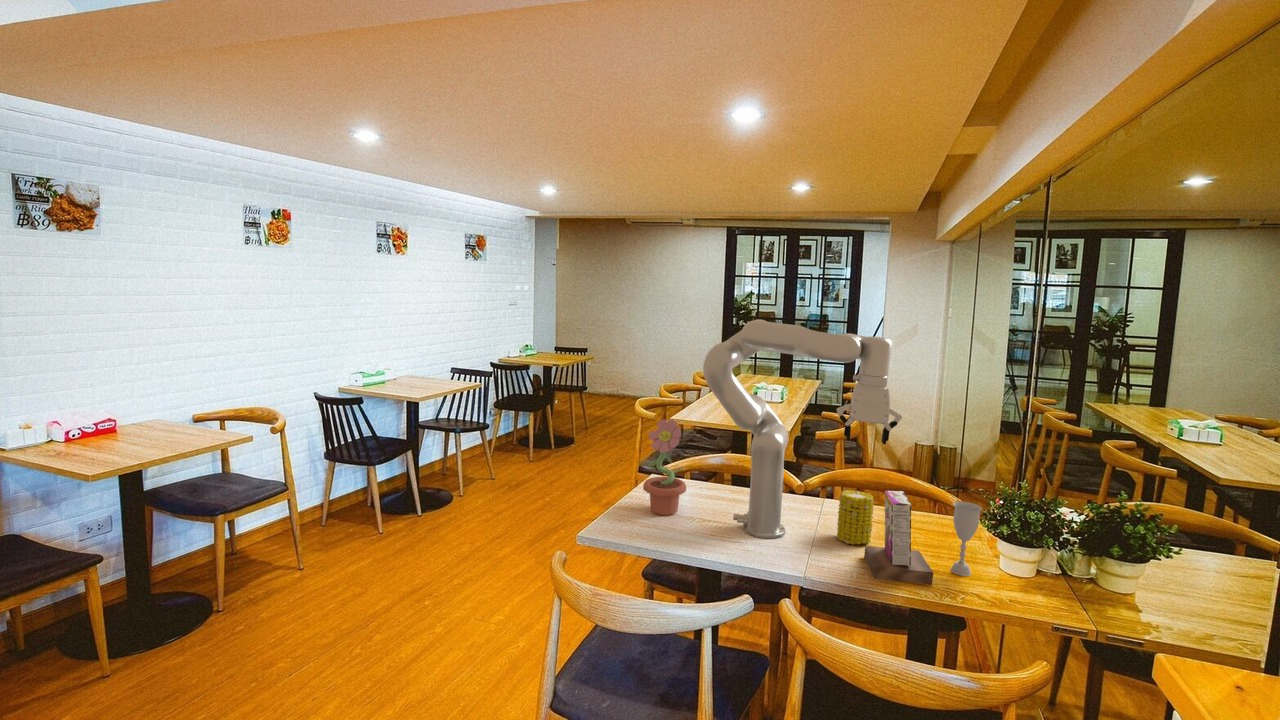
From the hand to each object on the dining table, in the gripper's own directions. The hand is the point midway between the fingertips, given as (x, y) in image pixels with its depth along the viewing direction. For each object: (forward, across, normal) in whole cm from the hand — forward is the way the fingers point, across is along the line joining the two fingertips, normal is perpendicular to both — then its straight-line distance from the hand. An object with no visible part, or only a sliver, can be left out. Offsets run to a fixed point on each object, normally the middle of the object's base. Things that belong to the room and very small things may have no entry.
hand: (865, 441), depth 176 cm
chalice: (+30, +26, -9) cm, 41 cm away
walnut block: (+31, +10, -14) cm, 35 cm away
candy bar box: (+27, +9, -14) cm, 32 cm away
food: (+31, 0, +4) cm, 32 cm away
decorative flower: (+33, -58, +10) cm, 67 cm away
